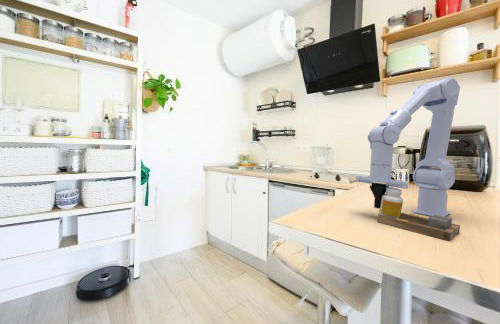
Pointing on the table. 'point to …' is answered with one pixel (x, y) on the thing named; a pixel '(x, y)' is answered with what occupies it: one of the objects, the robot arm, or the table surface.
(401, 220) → the beam
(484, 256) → the table surface
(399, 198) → the supplement bottle
